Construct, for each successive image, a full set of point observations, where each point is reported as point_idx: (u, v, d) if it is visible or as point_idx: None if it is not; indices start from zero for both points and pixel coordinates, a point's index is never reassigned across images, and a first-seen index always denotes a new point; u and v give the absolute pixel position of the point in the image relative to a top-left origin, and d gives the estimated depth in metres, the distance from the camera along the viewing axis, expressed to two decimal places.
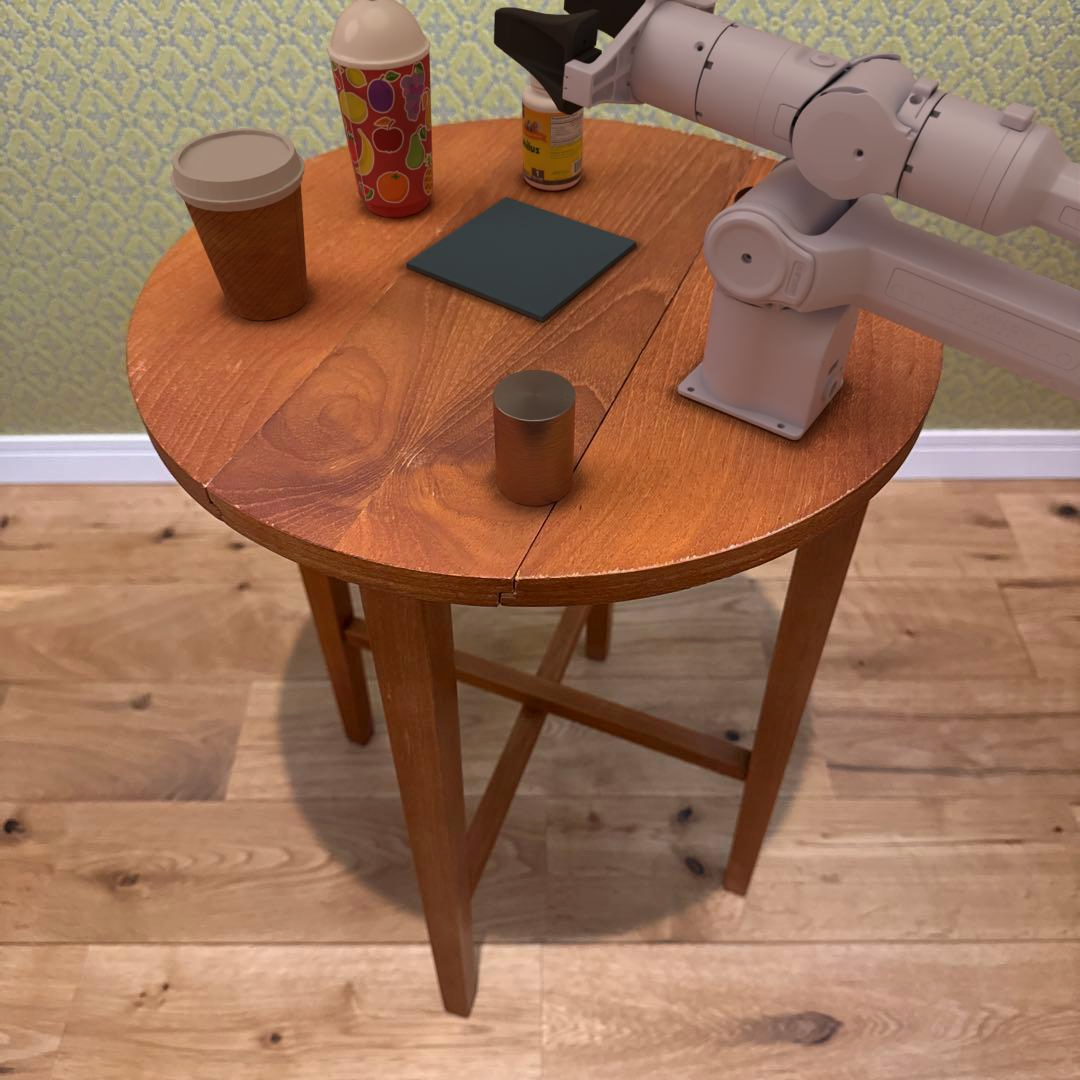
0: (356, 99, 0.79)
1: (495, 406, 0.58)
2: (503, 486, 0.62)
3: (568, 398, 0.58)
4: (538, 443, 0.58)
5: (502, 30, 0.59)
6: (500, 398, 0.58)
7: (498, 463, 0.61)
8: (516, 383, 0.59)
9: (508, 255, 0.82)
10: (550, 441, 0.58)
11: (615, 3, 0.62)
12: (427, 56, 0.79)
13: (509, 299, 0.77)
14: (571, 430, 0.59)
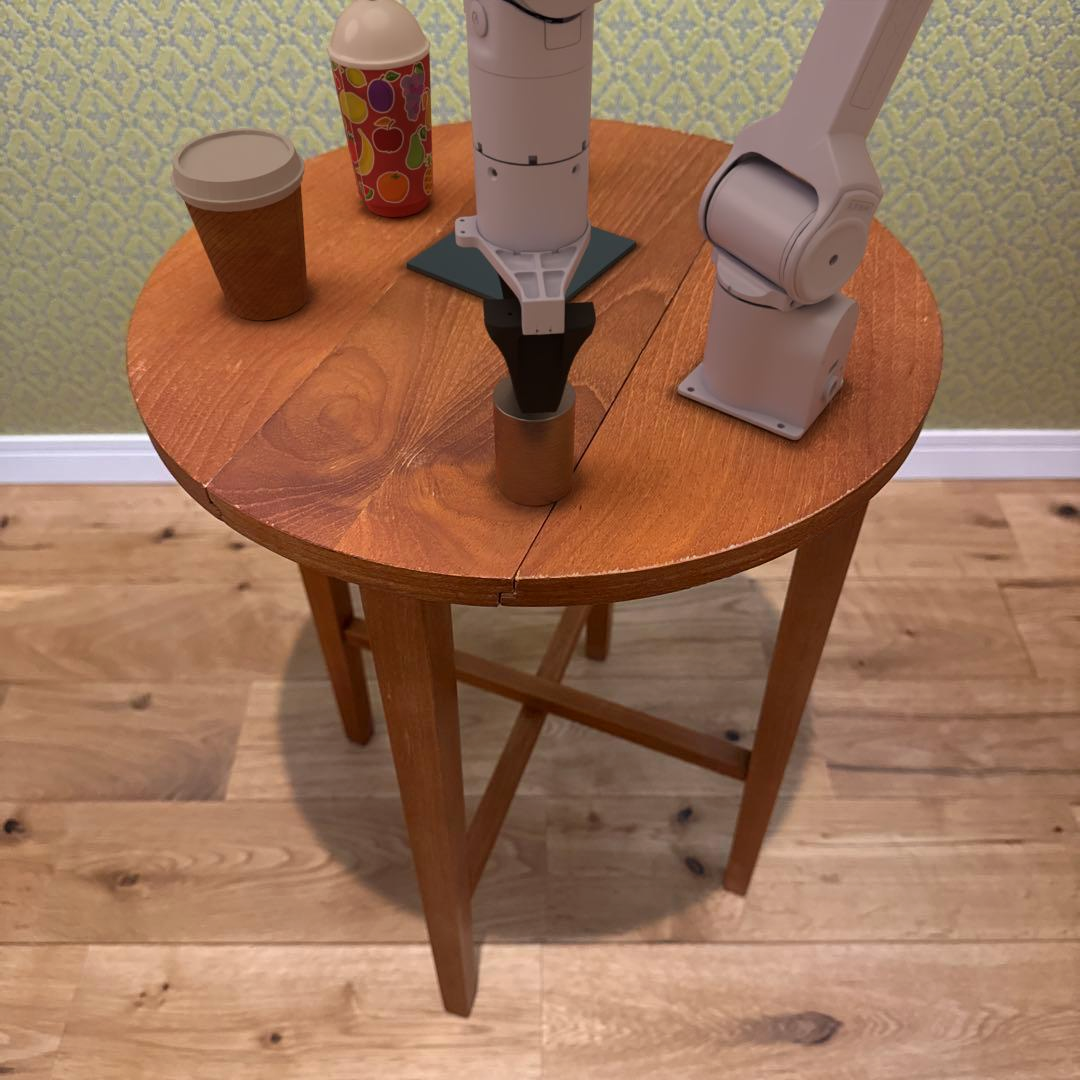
0: (356, 99, 0.79)
1: (495, 406, 0.58)
2: (503, 486, 0.62)
3: (568, 398, 0.58)
4: (538, 443, 0.58)
5: (538, 404, 0.53)
6: (500, 398, 0.58)
7: (498, 463, 0.61)
8: None
9: None
10: (550, 441, 0.58)
11: None
12: (427, 56, 0.79)
13: None
14: (571, 430, 0.59)
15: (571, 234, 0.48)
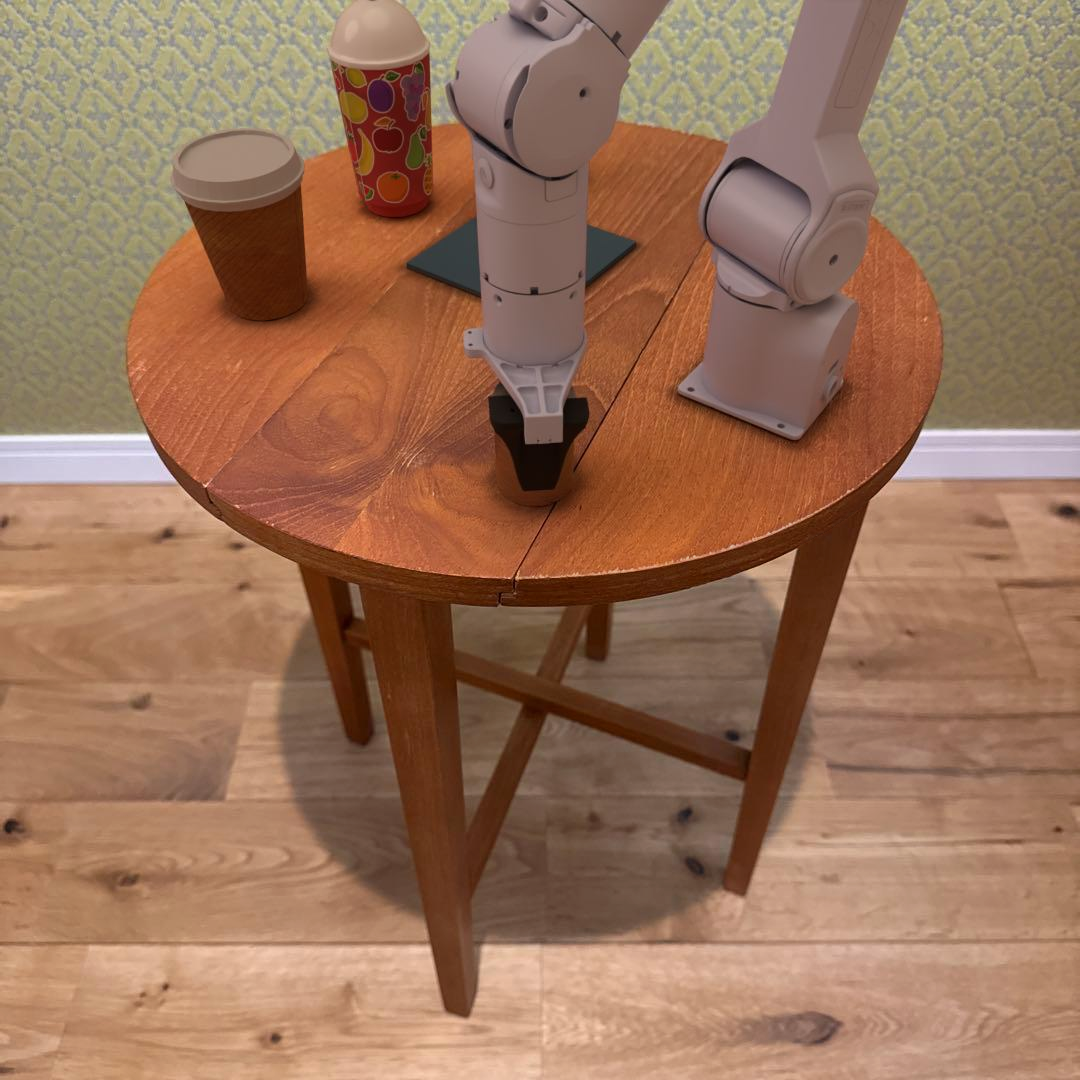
0: (356, 99, 0.79)
1: None
2: (503, 486, 0.62)
3: None
4: None
5: (537, 483, 0.59)
6: None
7: (498, 463, 0.61)
8: None
9: None
10: None
11: None
12: (427, 56, 0.79)
13: None
14: None
15: (569, 349, 0.53)
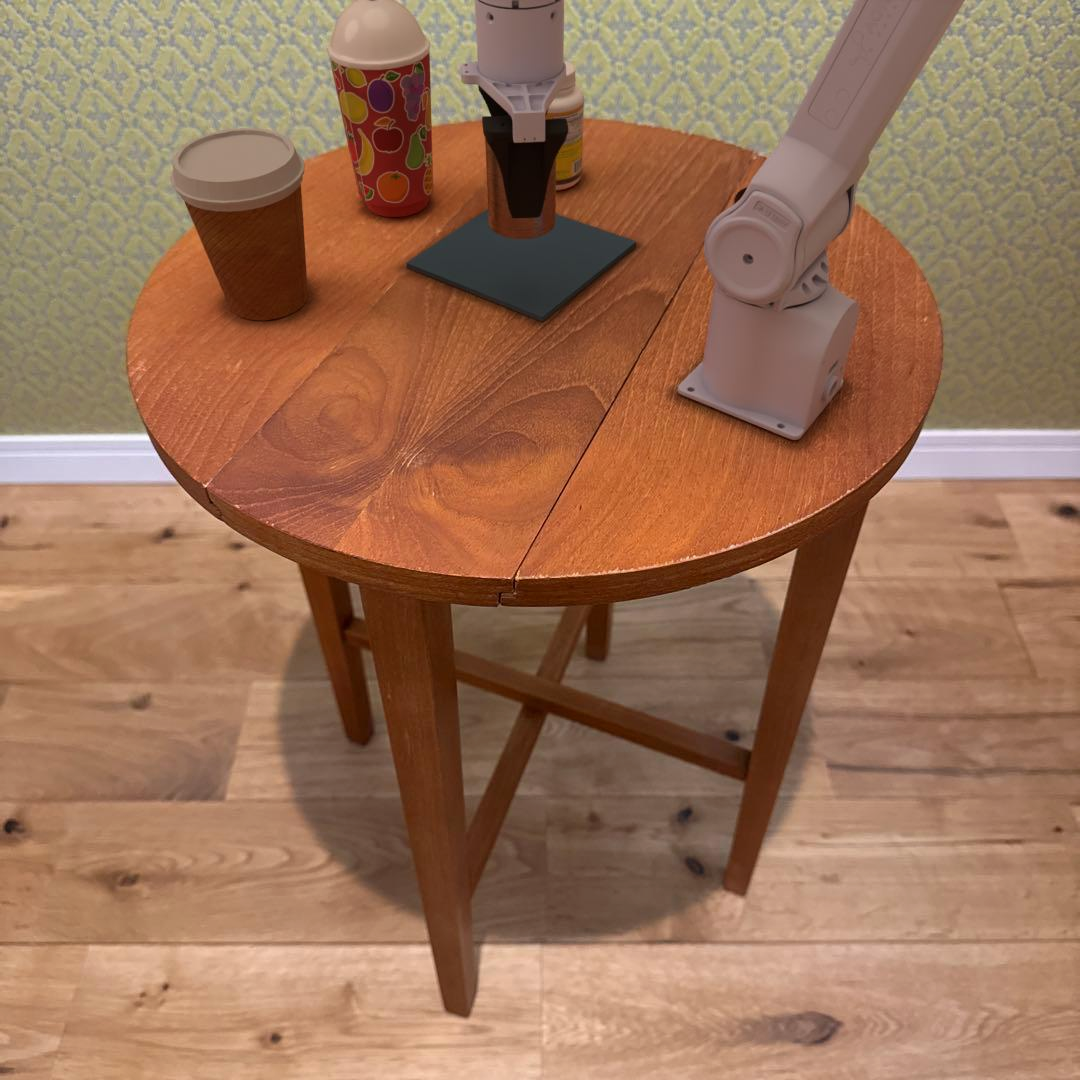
0: (356, 99, 0.79)
1: None
2: (494, 222, 0.71)
3: None
4: None
5: (525, 209, 0.69)
6: None
7: (490, 199, 0.70)
8: None
9: (508, 255, 0.82)
10: None
11: None
12: (427, 56, 0.79)
13: (509, 299, 0.77)
14: (553, 163, 0.68)
15: (550, 70, 0.63)
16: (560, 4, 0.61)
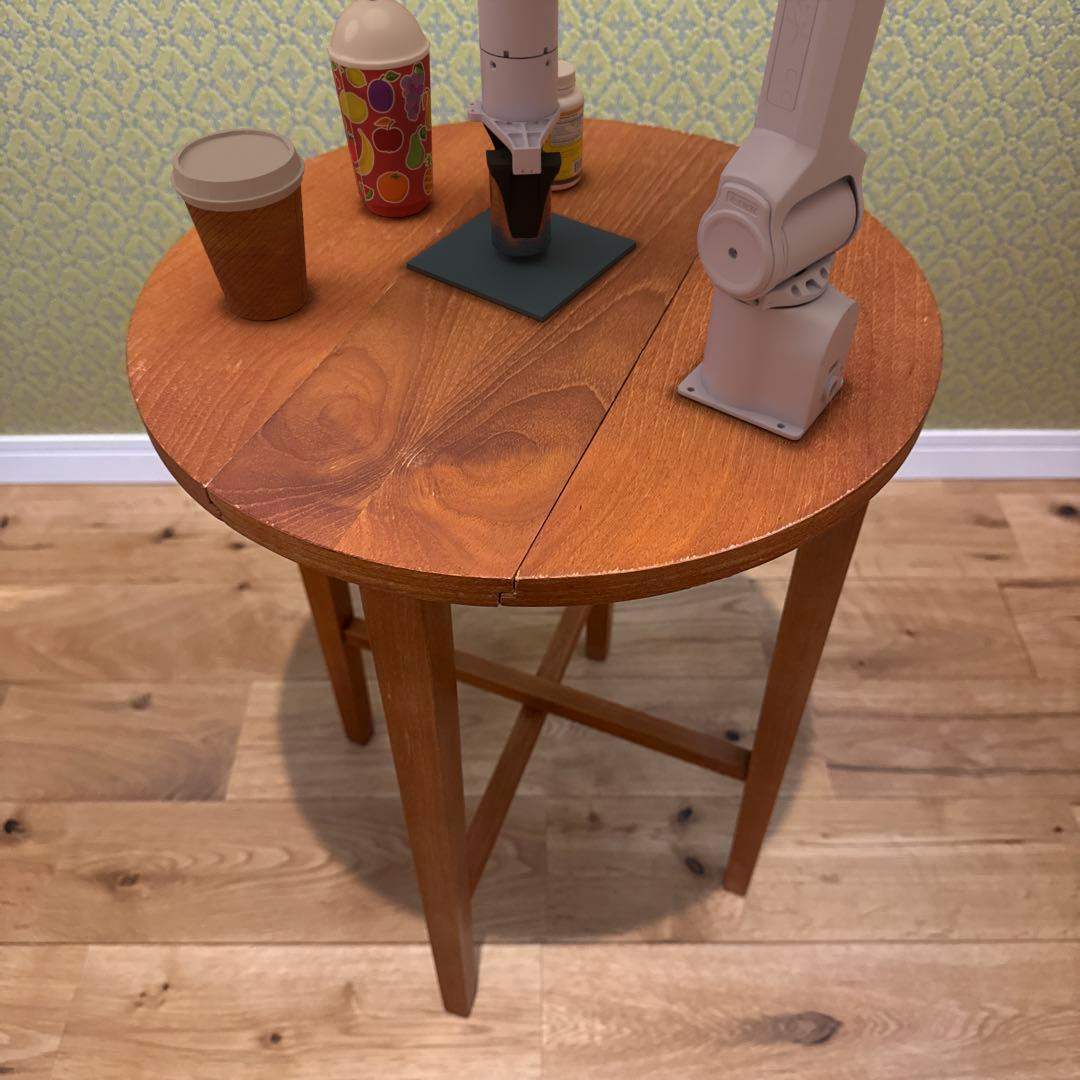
0: (356, 99, 0.79)
1: None
2: (496, 241, 0.80)
3: None
4: None
5: (524, 230, 0.77)
6: None
7: (492, 221, 0.79)
8: None
9: (508, 255, 0.82)
10: None
11: None
12: (427, 56, 0.79)
13: (509, 299, 0.77)
14: None
15: (546, 110, 0.72)
16: (554, 53, 0.69)
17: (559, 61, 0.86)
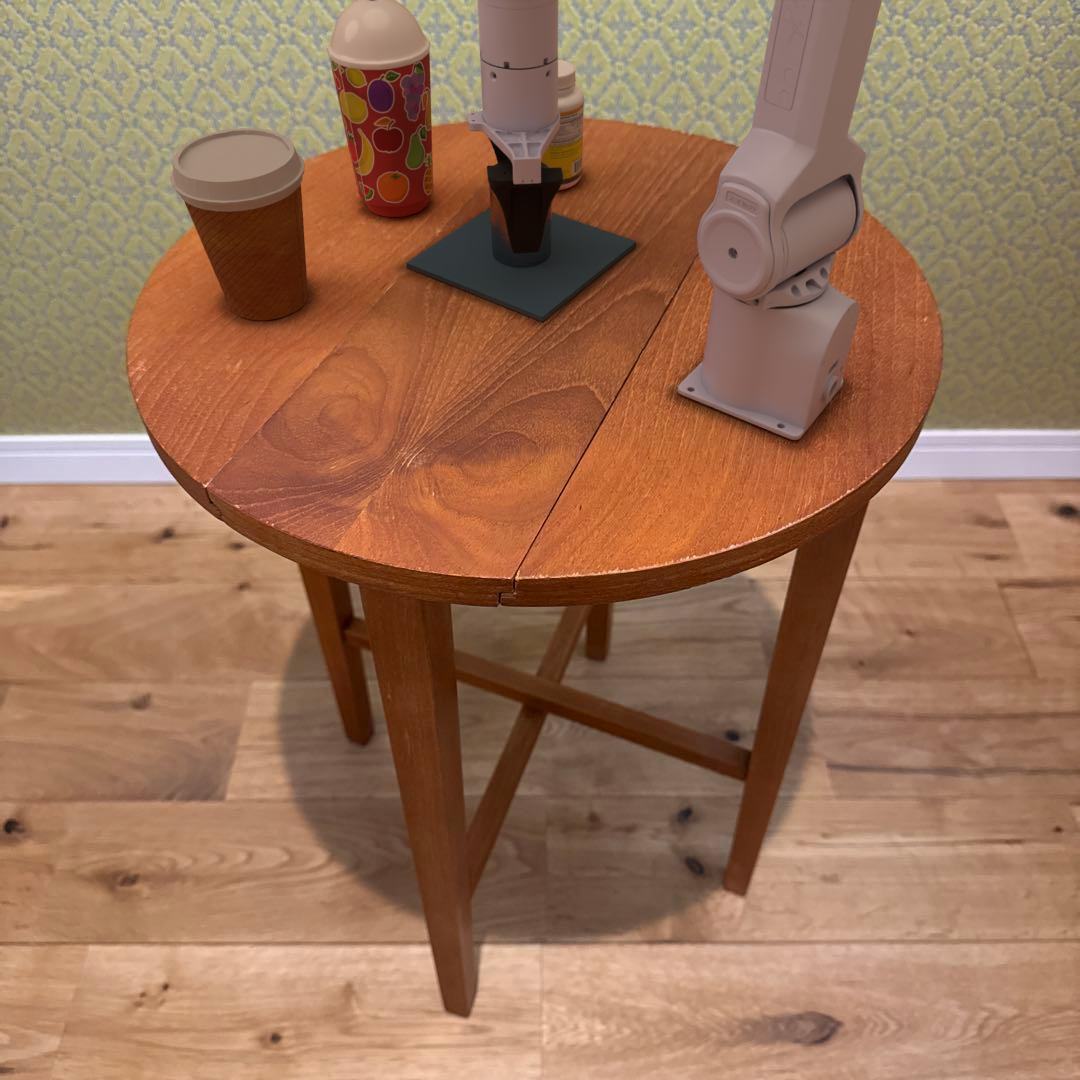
0: (356, 99, 0.79)
1: None
2: (497, 252, 0.81)
3: None
4: None
5: (525, 245, 0.77)
6: None
7: (493, 232, 0.80)
8: None
9: None
10: None
11: None
12: (427, 56, 0.79)
13: (509, 299, 0.77)
14: None
15: (546, 120, 0.72)
16: (554, 64, 0.70)
17: (559, 61, 0.86)
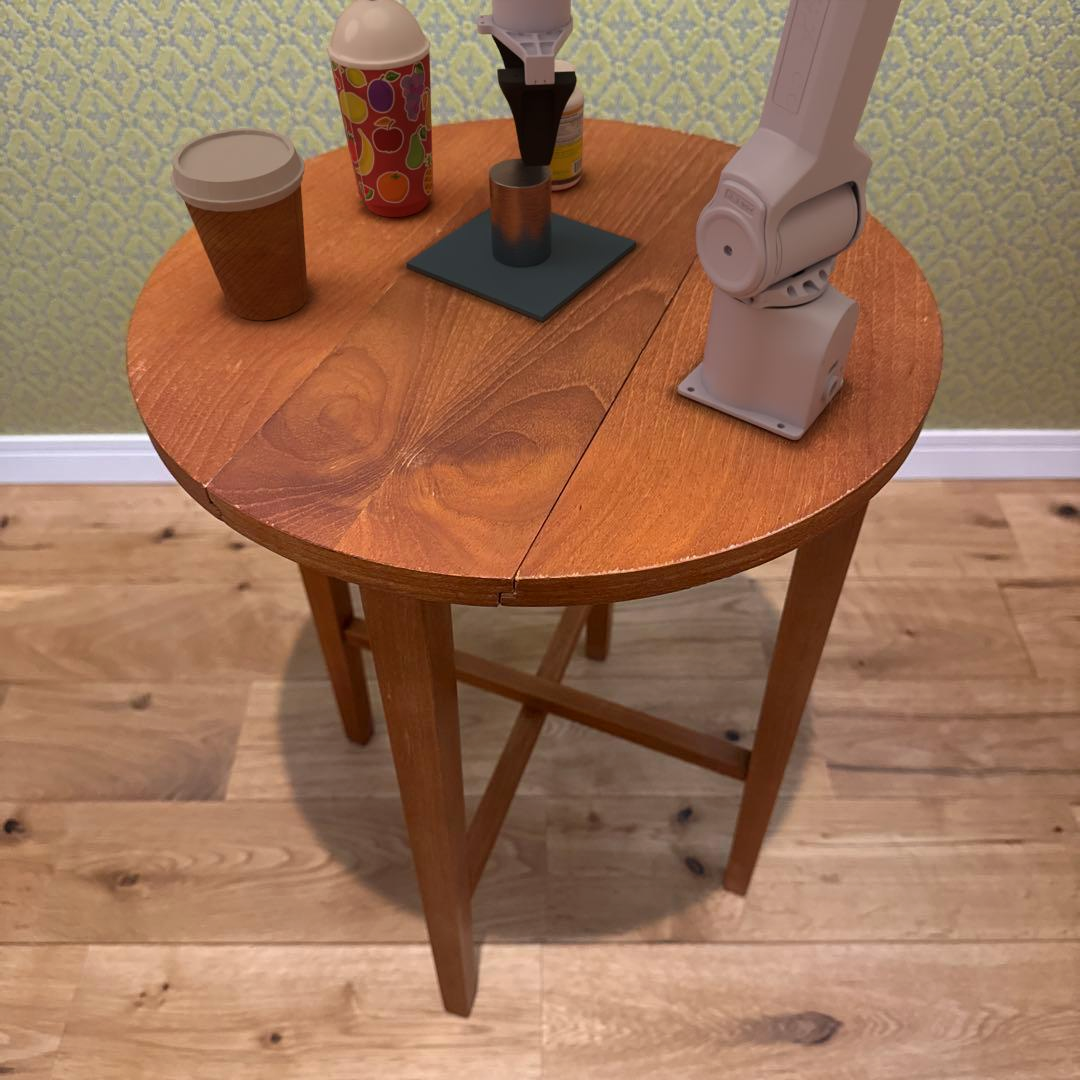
0: (356, 99, 0.79)
1: (490, 180, 0.76)
2: (497, 252, 0.81)
3: (545, 174, 0.77)
4: (523, 207, 0.77)
5: (536, 157, 0.74)
6: (495, 174, 0.77)
7: (493, 232, 0.80)
8: (506, 166, 0.78)
9: None
10: (532, 207, 0.77)
11: None
12: (427, 56, 0.79)
13: (509, 299, 0.77)
14: (548, 201, 0.78)
15: (559, 21, 0.69)
16: None
17: (559, 61, 0.86)
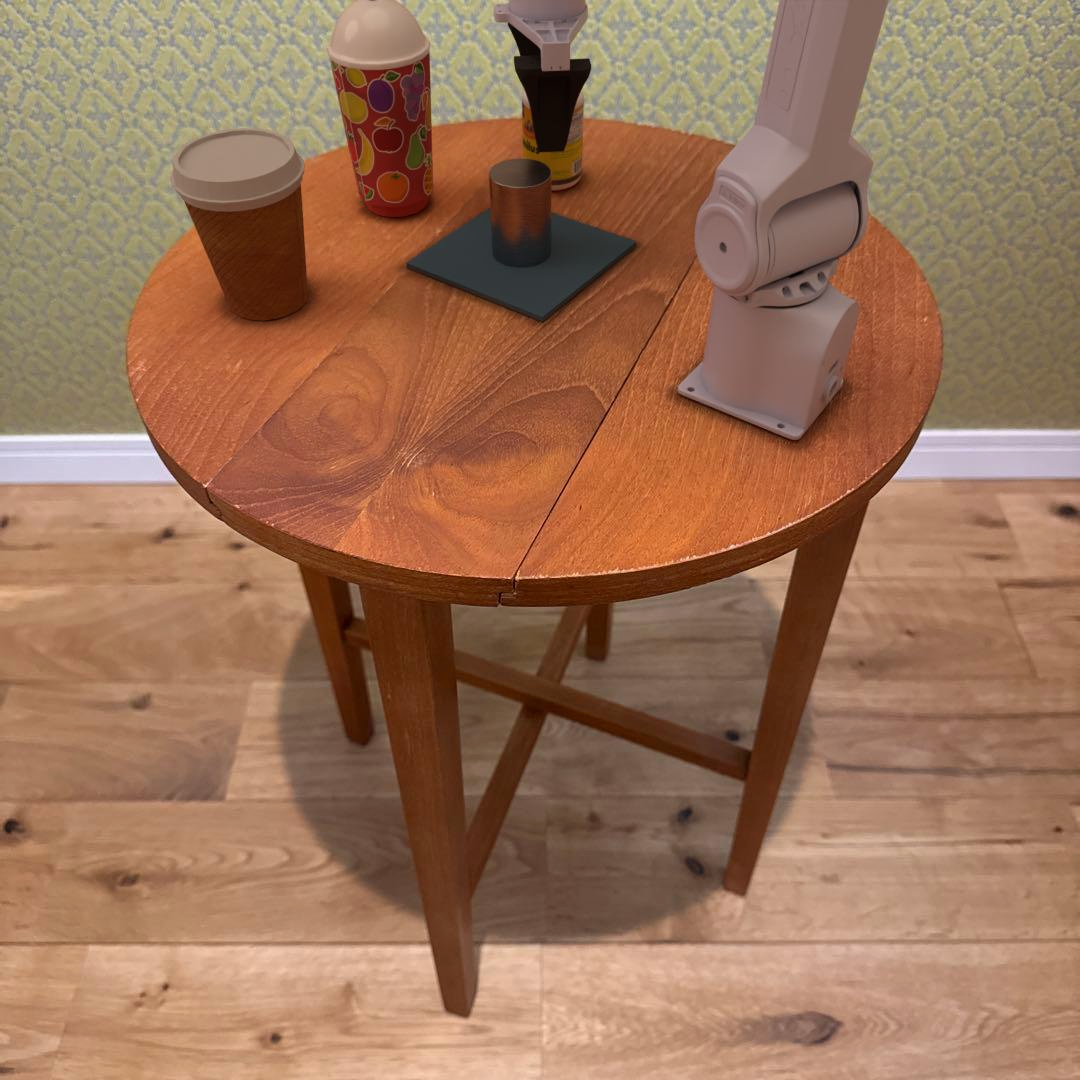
0: (356, 99, 0.79)
1: (490, 180, 0.76)
2: (497, 252, 0.81)
3: (545, 174, 0.77)
4: (523, 207, 0.77)
5: (551, 143, 0.76)
6: (495, 174, 0.77)
7: (493, 232, 0.80)
8: (506, 166, 0.78)
9: None
10: (532, 207, 0.77)
11: None
12: (427, 56, 0.79)
13: (509, 299, 0.77)
14: (548, 201, 0.78)
15: (574, 9, 0.71)
16: None
17: None
